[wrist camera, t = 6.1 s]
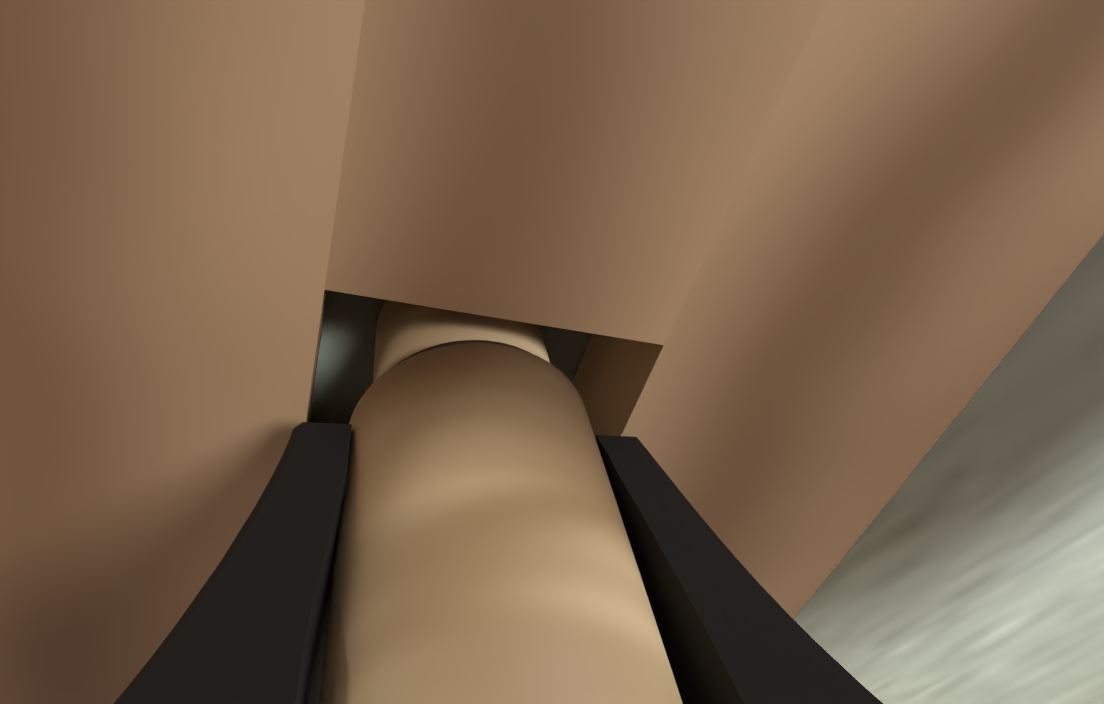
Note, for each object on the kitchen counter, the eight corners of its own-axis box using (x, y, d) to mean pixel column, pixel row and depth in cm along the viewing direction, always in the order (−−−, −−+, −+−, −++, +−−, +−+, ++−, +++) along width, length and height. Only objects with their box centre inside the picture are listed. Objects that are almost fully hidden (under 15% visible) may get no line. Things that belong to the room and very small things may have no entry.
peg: (574, 260, 12) (778, 738, 5) (533, 417, 14) (649, 920, 7) (365, 234, 11) (308, 770, 4) (351, 406, 13) (296, 968, 6)
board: (1101, -1, 11) (1258, 40, 9) (683, 625, 19) (714, 717, 17) (-289, -572, 6) (-646, -774, 4) (-16, 602, 14) (-83, 726, 12)
